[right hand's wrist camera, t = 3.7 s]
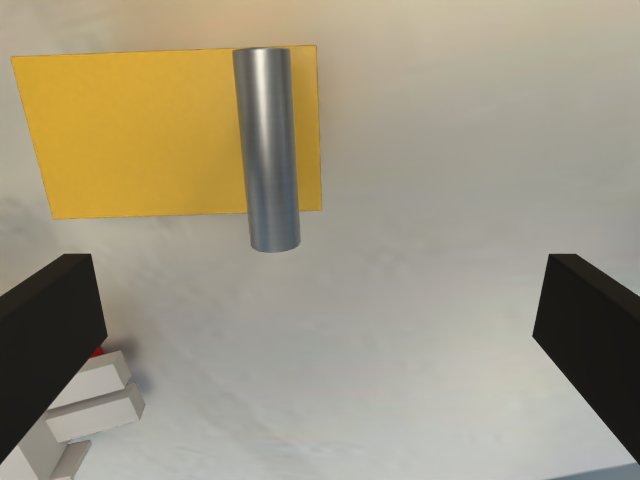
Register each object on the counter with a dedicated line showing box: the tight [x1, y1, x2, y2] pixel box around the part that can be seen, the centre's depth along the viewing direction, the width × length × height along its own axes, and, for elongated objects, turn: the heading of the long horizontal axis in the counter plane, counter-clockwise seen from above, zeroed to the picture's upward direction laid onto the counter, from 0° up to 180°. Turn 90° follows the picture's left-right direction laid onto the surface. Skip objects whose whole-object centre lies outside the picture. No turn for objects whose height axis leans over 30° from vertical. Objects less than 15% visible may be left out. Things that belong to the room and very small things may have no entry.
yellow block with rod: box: [10, 45, 322, 253], centre depth 21 cm, size 16×9×9 cm, turn 92°
